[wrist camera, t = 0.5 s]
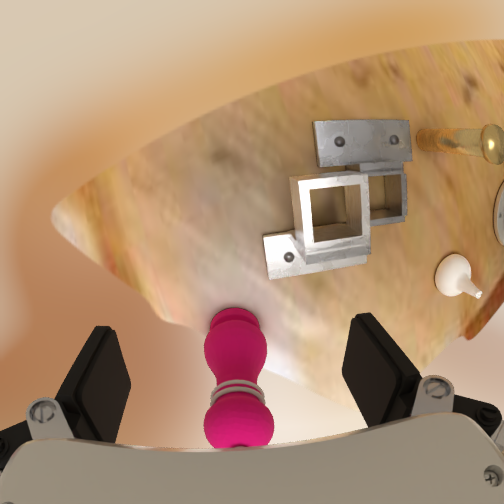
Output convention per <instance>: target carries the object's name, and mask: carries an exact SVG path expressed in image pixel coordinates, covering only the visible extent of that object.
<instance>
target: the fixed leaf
mask: <svg viewBox="0 0 504 504" xmlns="http://www.w3.org/2000/svg"><path fill="white" fill-rule="evenodd" d="M312 125H313V133H314V140H315V149H316V157H317V166H318V167H328V166H340V165H346V171H355V172H360V173H365V174H368V177H369V176H382V175H384V182H385V205H386V209H378V210H370V227H371V226H378V225H385V224H392V223H399V222H405V215H407V181H406V174H404V172H403V162H405V161H412V149H411V137H410V128H409V120H333V121H315V122H312Z"/></svg>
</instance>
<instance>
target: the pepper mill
mask: <svg viewBox="0 0 504 504" xmlns="http://www.w3.org/2000/svg"><path fill="white" fill-rule="evenodd" d="M204 352H205V358H206V361H207V364H208V366H209V368H210V369H211V371H212V372H213V373H214V375H215V377H216V379H217V387H215V388H214V390H213V391H212V394H211V403H210V406H211V407H210V409H209V410H208V411H207V413H206V415H205V419H204V432H205V435H206V438H207V440H208V441H209V443H210V444H211V445H212V446H213V447H214V448H236V447H251V446H263V445H268V443H269V442H270V440H271V438H272V436H273V432H274V420H273V416H272V414H271V412H270V410H269V409H268V408H267V407H266V406H265V400H264V393H263V391H262V389H261V388H260V387H259V386H258V385H257V378H258V375H259V373H260V371H261V369H262V368H263V366H264V363H265V360H266V355H267V343H266V339H265V337H264V335H263V333H262V332H261V331H260V327H259V323H258V320H257V319H256V317H255V316H254V315H253V314H252V313H250V312H249V311H247V310H244V309H240V308H229V309H225V310H223V311H221V312H219V313H218V314H217V315H216V316H215V317H214V318H213V320H212V322H211V325H210V332H209V333H208V335H207V336H206V339H205V343H204Z"/></svg>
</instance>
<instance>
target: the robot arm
mask: <svg viewBox="0 0 504 504" xmlns="http://www.w3.org/2000/svg"><path fill="white" fill-rule="evenodd" d="M494 229H495V234H496V237H497V239H498V241H499V242H500V244H501V245H503V246H504V182H503V184H502V186H501V187H500V190H499V192H498V195H497V198H496V202H495V208H494ZM342 375H343V378H344V380H345V382H346V384H347V386H348V388H349V390H350V392H351V394H352V396H353V398H354V399H355V401H356V403H357V405H358V408H359V410H360V412H361V414H362V416H363V417H364V420H365V421H366V424H367V426H368V428H364V429H360V430H355V431H351V432H347V433H342V434H337V435H333V436H328V437H322V438H316V439H310V440H304V441H297V442H289V443H282V444H273V445H263V446H251V447H236V448H208V449H207V448H204V449H203V448H201V449H200V448H195V449H194V448H191V449H190V448H162V447H147V446H136V445H125V444H115V441H116V437H117V433H118V430H119V426H120V423H121V419H122V415H123V412H124V409H125V405H126V402H127V399H128V395H129V392H130V389H131V381H130V378H129V375H128V371H127V369H126V365H125V362H124V359H123V356H122V352H121V349H120V346H119V342H118V338H117V335H116V332H115V330H112V329H111V328H110V327H109V326H96V327H95V328H94V330H93V331H92V333H91V335H90V336H89V338H88V340H87V341H86V343H85V345H84V346H83V348H82V350H81V351H80V353H79V355H78V357H77V358H76V360H75V362H74V364H73V365H72V367H71V369H70V371H69V373H68V374H67V376H66V378H65V380H64V382H63V383H62V385H61V387H60V389H59V391H58V393H57V395H56V397H55V399H52V398H49V397H48V398H47V397H43V398H39V399H37V400H35V401H33V402H32V403H31V404H30V405H29V406H28V408H27V411H26V419H27V420H25V421H23V422H21V423H18V424H16V425H14V426H11V427H9V428H7V429H4V430H2V431H0V504H504V420H502V415H501V413H500V411H499V410H498V408H497V407H495V406H494V405H492V404H489V403H485V402H481V401H478V400H474V399H470V398H466V397H462V396H459V395H455V394H454V387H453V385H452V383H451V382H450V381H449V380H447V379H446V378H444V377H441V376H437V375H429V376H426V377H424V378H422V377H421V375H420V372H419V371H418V370H417V368H416V367H415V366H414V365H413V363H412V362H411V361H410V360H409V358H408V357H407V356H406V355H405V353H404V352H403V351H402V350H401V349H400V347H399V346H398V345H397V344H396V342H395V341H394V340H393V339H392V338H391V336H390V335H389V334H388V333H387V332H386V330H385V329H384V328H383V327H382V326H381V324H380V323H379V322H378V321H377V320H376V318H375V317H374V316H373V315H372V314H371V313H362V314H357V315H356V316H355V318H352V320H351V325H350V330H349V336H348V341H347V346H346V351H345V356H344V361H343V366H342Z"/></svg>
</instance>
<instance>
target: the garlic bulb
mask: <svg viewBox="0 0 504 504" xmlns="http://www.w3.org/2000/svg"><path fill="white" fill-rule="evenodd" d="M470 278H471V267H470V264H469V262H468V261H467V259H466V258H465V257H463V256H461V255H459V254H452V255H449V256H447V257H446V258H445V259H443V261H442V262H441V263H440V265H439V266H438V268H437V271H436V275H435V283H436V286H437V288H438V290H439V291H440V292H441V293H442V294H444V295H446V296H456V295H458V294H460V293H462V292H466V293H468V294H470V295H472V296H475V297H476V298H477V299H479V298H480V297H481V295H482V291H480V290H479V289H478V288H477V287H476V286H475V285H474V284H473V283H472V282H471V280H470Z"/></svg>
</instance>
